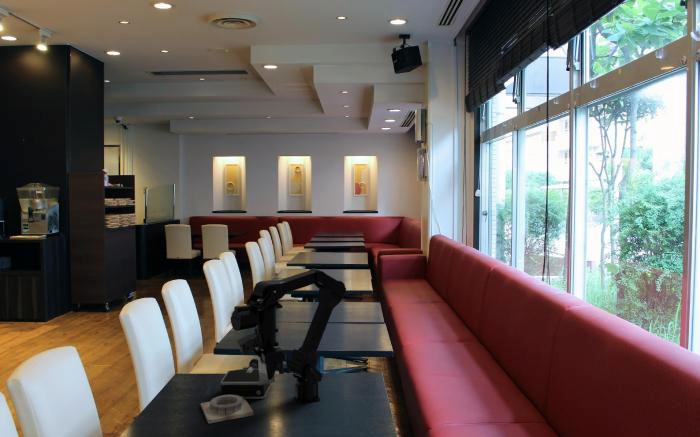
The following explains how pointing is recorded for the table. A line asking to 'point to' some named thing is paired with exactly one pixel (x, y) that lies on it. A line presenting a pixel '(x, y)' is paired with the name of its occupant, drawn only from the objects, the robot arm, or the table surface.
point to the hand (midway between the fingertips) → (267, 376)
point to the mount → (226, 408)
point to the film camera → (244, 382)
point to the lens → (264, 373)
